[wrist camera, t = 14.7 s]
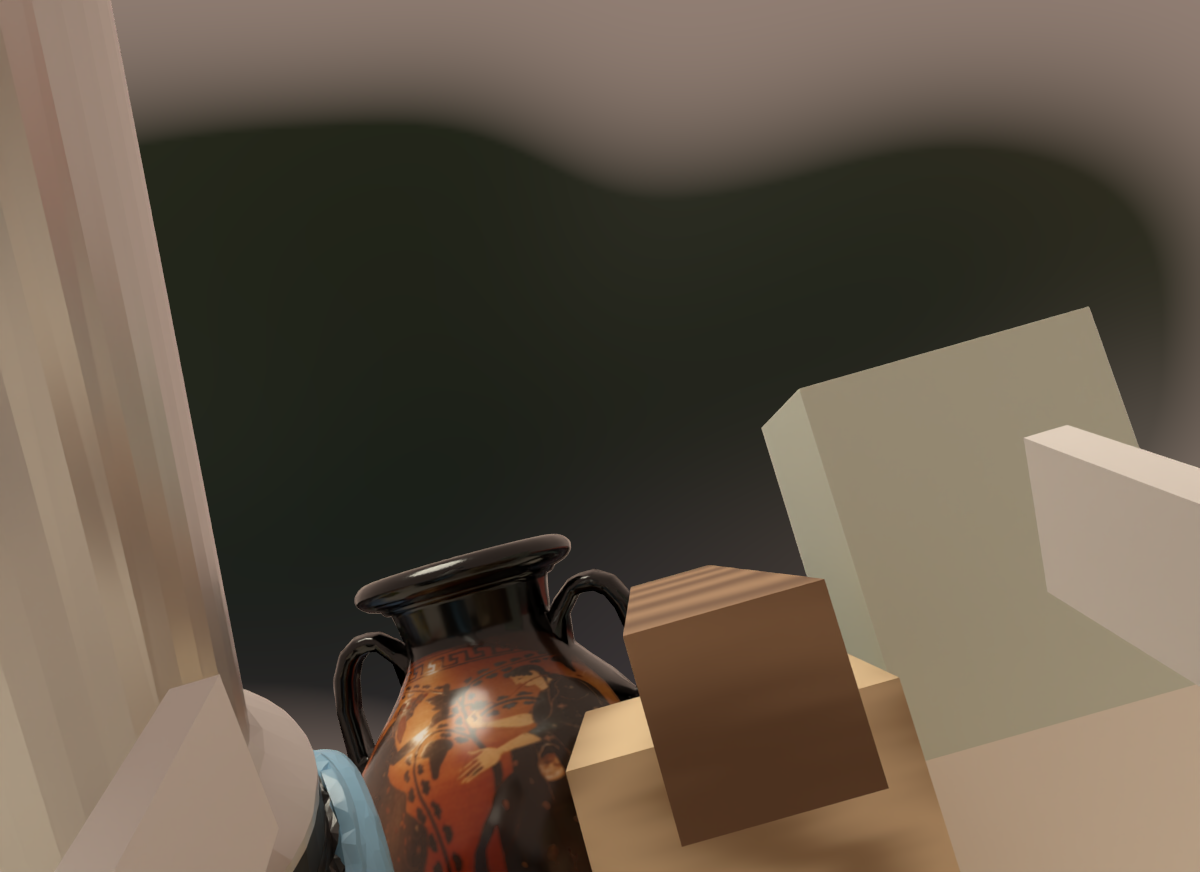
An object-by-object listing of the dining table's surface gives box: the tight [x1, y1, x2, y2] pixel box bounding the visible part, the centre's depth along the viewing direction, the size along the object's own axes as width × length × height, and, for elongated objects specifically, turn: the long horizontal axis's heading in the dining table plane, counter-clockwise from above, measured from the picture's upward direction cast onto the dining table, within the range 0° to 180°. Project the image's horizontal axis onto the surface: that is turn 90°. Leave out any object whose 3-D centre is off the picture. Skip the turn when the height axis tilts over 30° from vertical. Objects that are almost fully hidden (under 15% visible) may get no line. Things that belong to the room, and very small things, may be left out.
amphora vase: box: [333, 534, 640, 872], centre depth 56 cm, size 22×22×28 cm
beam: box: [623, 565, 889, 847], centre depth 33 cm, size 30×4×4 cm, turn 178°
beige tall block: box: [762, 307, 1200, 872], centre depth 43 cm, size 12×12×30 cm
